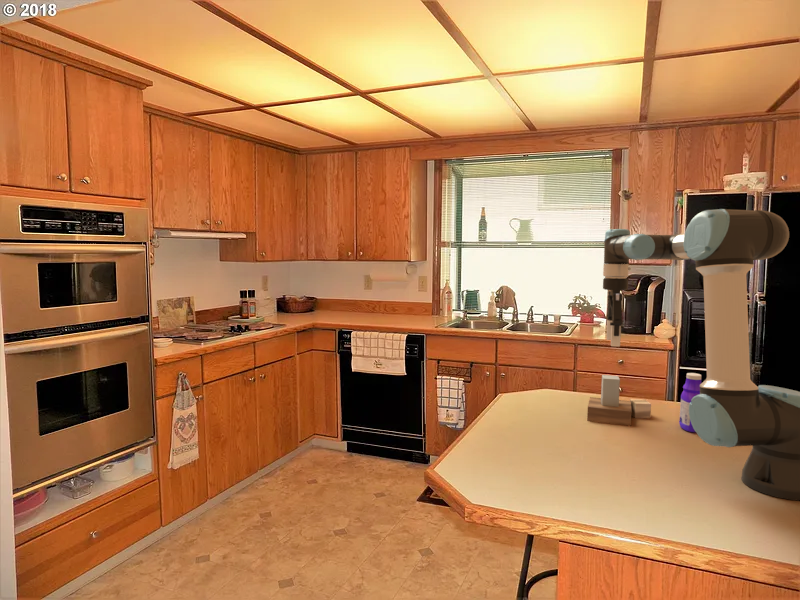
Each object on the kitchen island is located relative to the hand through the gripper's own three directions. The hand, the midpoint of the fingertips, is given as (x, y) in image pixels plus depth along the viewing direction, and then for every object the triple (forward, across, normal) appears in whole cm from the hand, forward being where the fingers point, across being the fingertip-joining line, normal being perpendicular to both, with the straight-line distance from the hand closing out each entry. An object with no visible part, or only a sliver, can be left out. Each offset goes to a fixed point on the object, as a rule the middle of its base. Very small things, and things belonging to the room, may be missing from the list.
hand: (613, 343), depth 180 cm
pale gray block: (+20, 0, 0) cm, 20 cm away
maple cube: (+25, +5, -10) cm, 27 cm away
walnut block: (+25, 0, 0) cm, 25 cm away
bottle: (+25, -6, -23) cm, 34 cm away
